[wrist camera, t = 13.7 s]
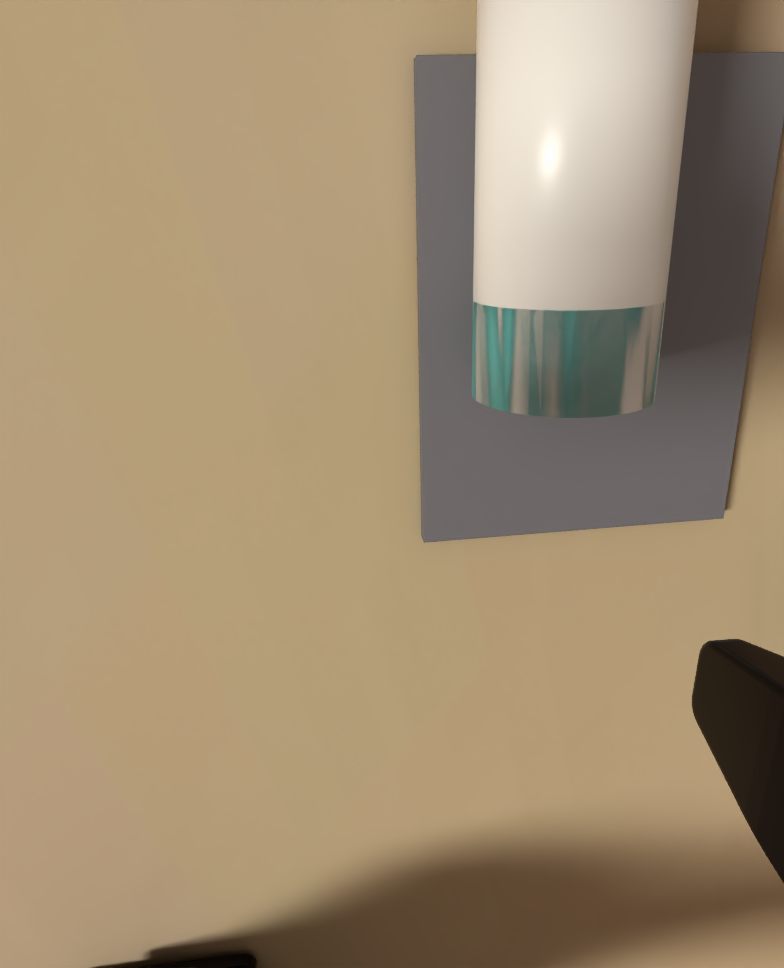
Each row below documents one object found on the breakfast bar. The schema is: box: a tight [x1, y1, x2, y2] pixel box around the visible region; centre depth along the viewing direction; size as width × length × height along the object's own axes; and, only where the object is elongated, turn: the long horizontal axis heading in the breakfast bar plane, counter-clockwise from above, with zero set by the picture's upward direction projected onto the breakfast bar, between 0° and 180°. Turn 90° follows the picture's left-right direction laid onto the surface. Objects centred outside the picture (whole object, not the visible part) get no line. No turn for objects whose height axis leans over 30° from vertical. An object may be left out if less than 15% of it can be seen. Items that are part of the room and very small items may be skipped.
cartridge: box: [472, 0, 699, 418], centre depth 15 cm, size 4×11×4 cm
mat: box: [414, 52, 784, 542], centre depth 18 cm, size 12×9×1 cm
